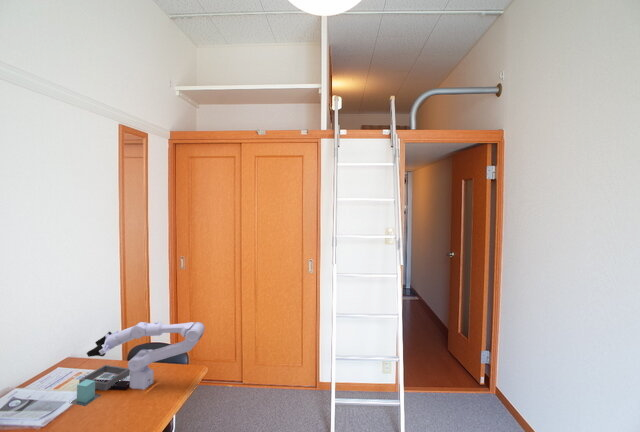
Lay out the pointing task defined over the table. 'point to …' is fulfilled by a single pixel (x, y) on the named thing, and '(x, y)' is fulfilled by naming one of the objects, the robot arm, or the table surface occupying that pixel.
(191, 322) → the robot arm
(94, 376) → the bin
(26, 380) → the table surface
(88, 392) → the socket block
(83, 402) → the stud plate
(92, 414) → the table surface
